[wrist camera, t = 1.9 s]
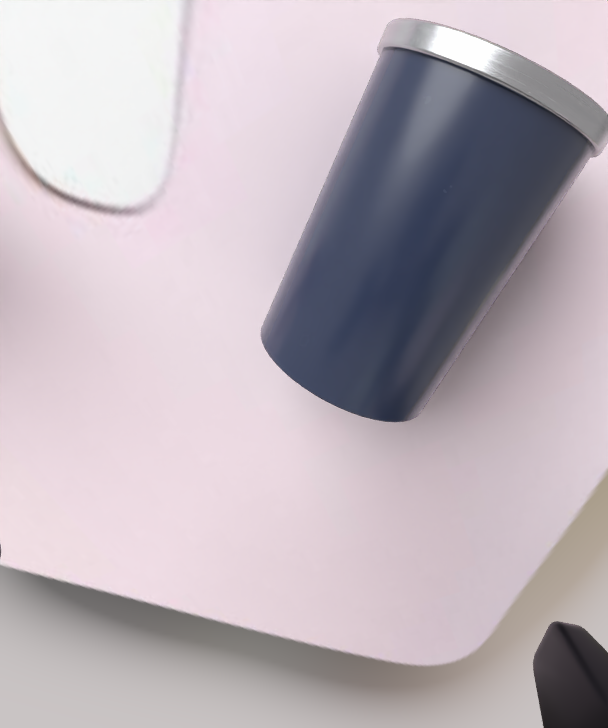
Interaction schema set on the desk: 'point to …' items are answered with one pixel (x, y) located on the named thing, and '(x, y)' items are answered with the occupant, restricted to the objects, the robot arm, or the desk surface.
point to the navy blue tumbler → (425, 216)
